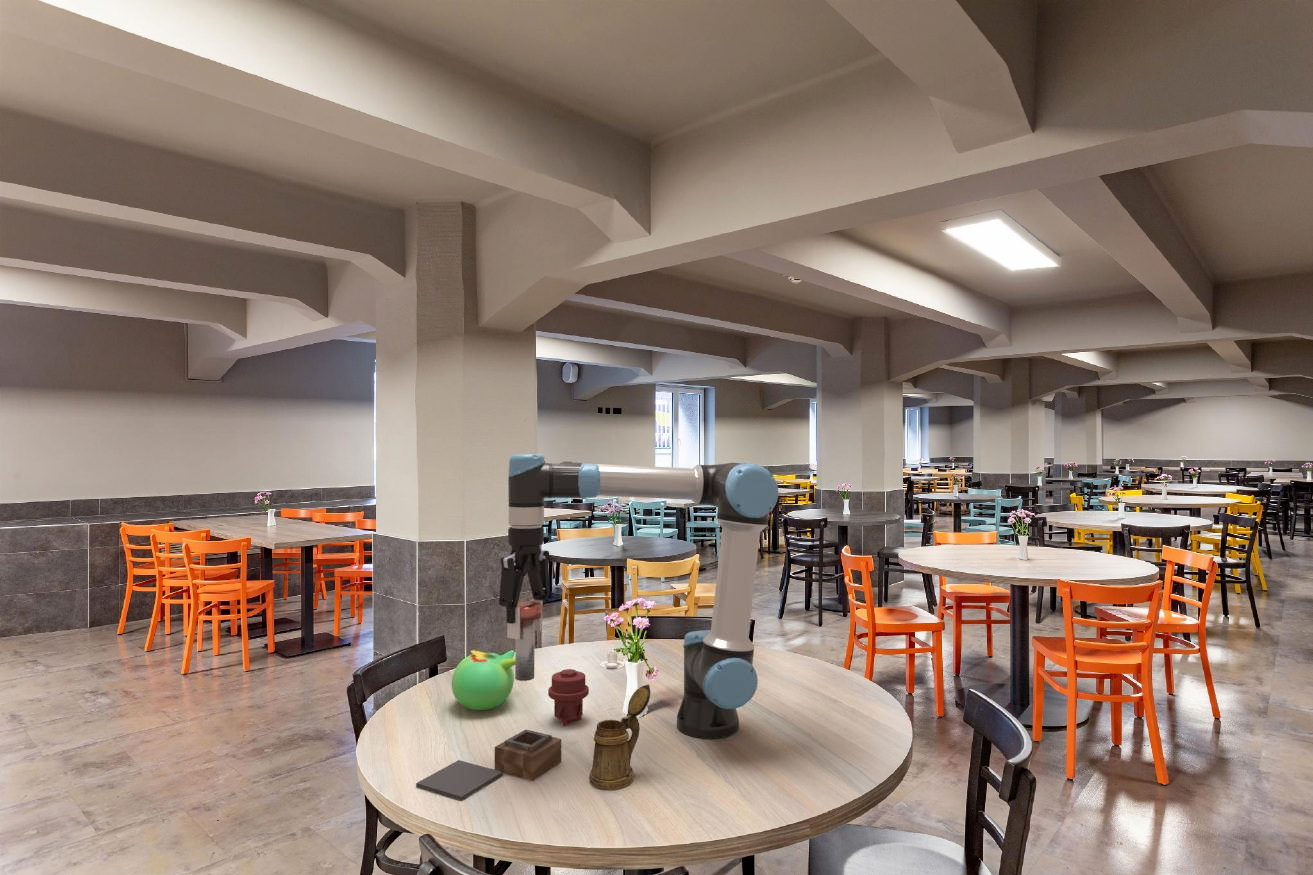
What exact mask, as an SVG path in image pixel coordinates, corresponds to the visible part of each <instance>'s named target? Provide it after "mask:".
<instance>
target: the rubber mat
mask: <svg viewBox="0 0 1313 875" xmlns="http://www.w3.org/2000/svg"><path fill="white" fill-rule="evenodd" d="M503 774H504V773H503V772H501V771H498V770H494V769H493V768H489V767H486V766H483V765H478V764H475V763H471V762H467V761H464V760H461V759H458V760H456V761H454V762H453V763H451V764H449V765H446V766H445V767H443V768H441V769H440V770H438V771H436V772H434V773H432V774H430V775H428V776H426V777H425V778H423V779H422V780H419V781H417V782H416V783H415V786H416V788H418V789H420V790H424V791H427V792H431V793H434V794H438V795H441V796H445V797H448V798H451V799H454V800H458V801H460V802H461V801H464V800H465V799H467V798H469V797H471V796H472V795H473V794H475V793H477V792H479V791H481V789H483V788H485V787H487V786H488V785H489V784H491V783H493V782H495V781H497V780H499V779H500V778H501V777H503Z"/></svg>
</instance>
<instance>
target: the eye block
mask: <svg viewBox="0 0 1313 875" xmlns="http://www.w3.org/2000/svg"><path fill="white" fill-rule="evenodd" d="M561 763H562V738H559V737H555V736H552V734H548V733H542V732H538V731H535V730H530V729H524V730H522V731H520V732H519V733H517V734H515V735H513V736H511V737H509V738H507V739H506V740H504V741H503V742H501V743H498V744H497V745H496V746H494V766H493V767H494V770H498V771H501V772H503V774H505V775H509V776H512V777H516V778H520V779H523V780H527V781H531V782H533V781H535V780H537V779H538V778H540V777H542V775H545V774H546V773H548V772H549V771H551V769H553V768H555V767H556V766H558V765H559V764H561Z"/></svg>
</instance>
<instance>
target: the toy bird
mask: <svg viewBox="0 0 1313 875" xmlns="http://www.w3.org/2000/svg"><path fill="white" fill-rule="evenodd" d="M470 653H471V654H470V655H468V656H466V657H465V658H463V659H462V660H461V661H460V662H459V663H458V664H457V666H456V667H455V669H454V670H453V675H452V680H451V688H452V693H453V695H454V697H455V700H457V702H458V703H459V704H460V705H462V706H463V707H466V708H467V709H470V710H475V711H487V710H492V709H495V708H497V707H499V706H500V705H501V704H503V703H504V702H505V701H506V700H507V699H508V697H509V696H510V694H511V693H512V690H513V688H514V684H515V683H514V681H515V678H514V677H515V673H514V670H513V667H515V658H514V656H515V650H512V649H511V650H509V651H506V653H504V654H502V655H500V654H497V653H494V652H491V651H479V650H473V649H472V650H470Z"/></svg>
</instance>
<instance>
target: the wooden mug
mask: <svg viewBox="0 0 1313 875" xmlns="http://www.w3.org/2000/svg"><path fill="white" fill-rule="evenodd" d="M650 687H651V686H650V684H644V685H642V686H640V687H638V688H637V689H636V690H635V691H634V692H633V693H632V695H631V697H630V699H629V700H628V705H627V714H626V716H624V717H622V718H621V721H620V720H616V719H605V720H602V721H599V722H597V724H596V730H595V732H594V735H593V741H594V748H593V756H592V757H593V758H592V765H591V769H590V772H589V777H588V779H589V780H588V781H589V784H591V786H593V787H595V788H598V789H601V790H607V791H608V790H611V791H612V790H619V789H623V788H625V787H627V786H628V785H631V783H632V782H633V780H634V771H633V767H632V765H631V762H632V761H631V760H632V754H633V751H634V749H635V746H636V744H637V741H638V739H639V735H640V722H639V719H638V717H639V716H640V715H641V714H643V712H644V711H645V709H646V708H647V707H648V705H649V702H650V697H651V688H650ZM628 729H629V730H631V736H630V735H629V732H628ZM629 736H630V738H629Z"/></svg>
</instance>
